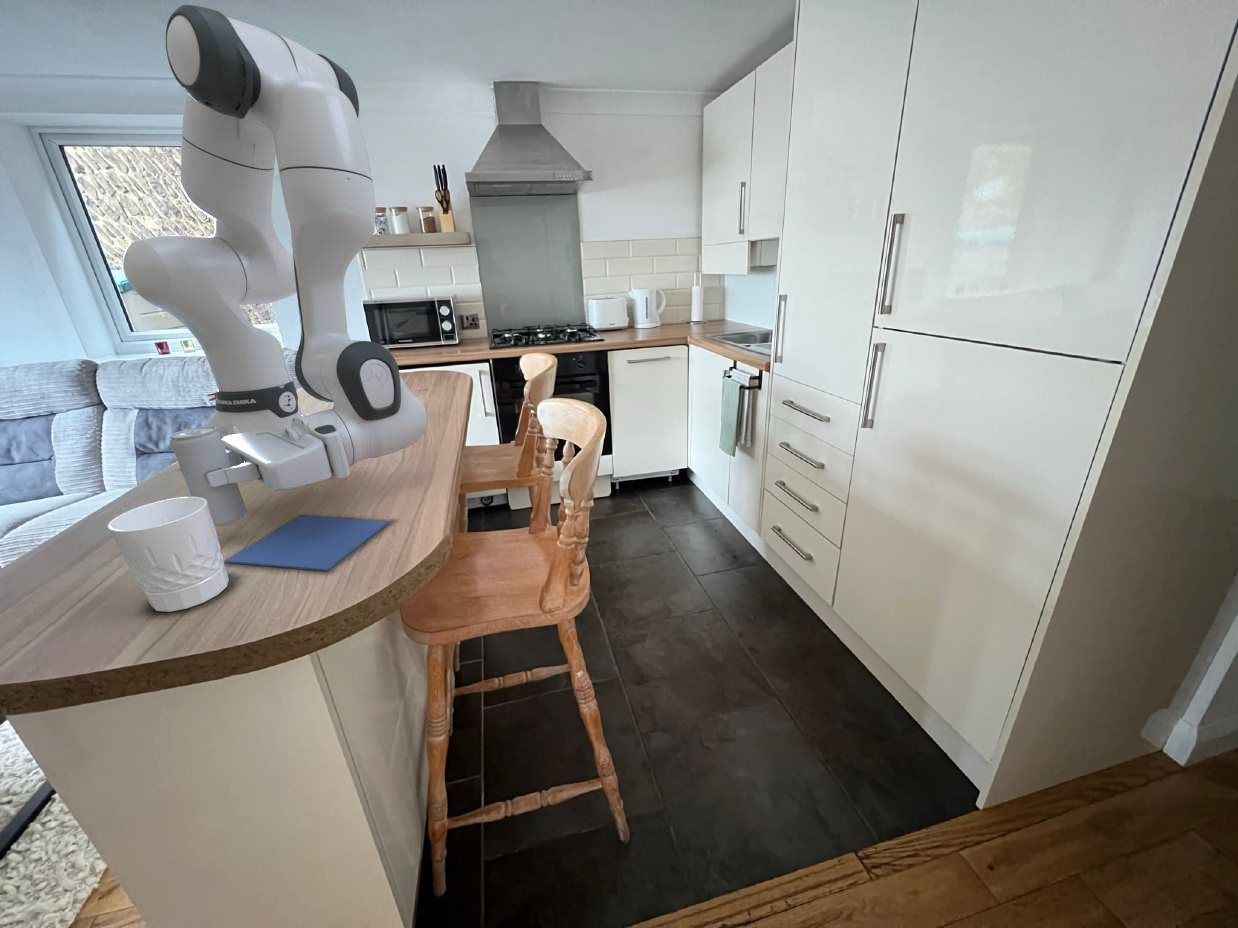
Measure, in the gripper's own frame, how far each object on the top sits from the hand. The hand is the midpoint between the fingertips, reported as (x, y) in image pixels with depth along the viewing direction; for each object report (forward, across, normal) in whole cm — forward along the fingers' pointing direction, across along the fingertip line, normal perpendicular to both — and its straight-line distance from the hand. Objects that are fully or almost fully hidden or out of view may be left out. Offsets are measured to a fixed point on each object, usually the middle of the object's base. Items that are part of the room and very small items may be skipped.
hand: (200, 474), depth 63 cm
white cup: (+6, +11, +10) cm, 16 cm away
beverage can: (-1, 0, +7) cm, 7 cm away
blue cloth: (-7, +9, +10) cm, 15 cm away
